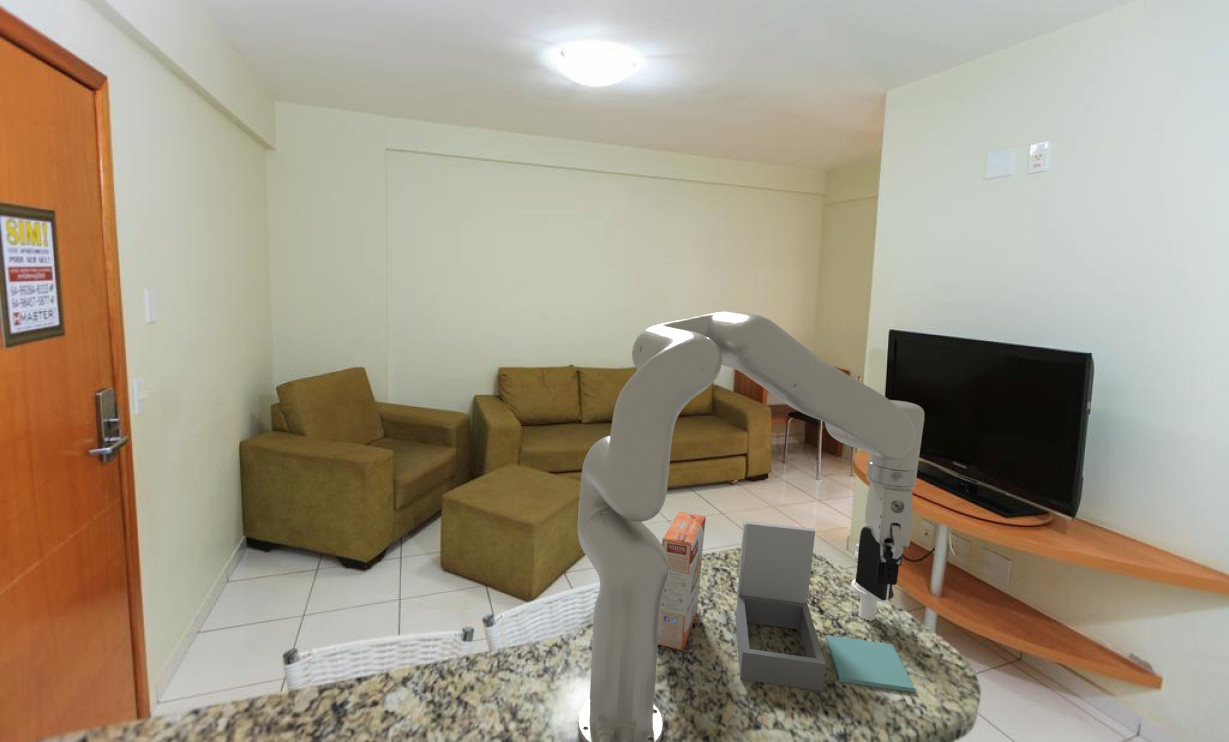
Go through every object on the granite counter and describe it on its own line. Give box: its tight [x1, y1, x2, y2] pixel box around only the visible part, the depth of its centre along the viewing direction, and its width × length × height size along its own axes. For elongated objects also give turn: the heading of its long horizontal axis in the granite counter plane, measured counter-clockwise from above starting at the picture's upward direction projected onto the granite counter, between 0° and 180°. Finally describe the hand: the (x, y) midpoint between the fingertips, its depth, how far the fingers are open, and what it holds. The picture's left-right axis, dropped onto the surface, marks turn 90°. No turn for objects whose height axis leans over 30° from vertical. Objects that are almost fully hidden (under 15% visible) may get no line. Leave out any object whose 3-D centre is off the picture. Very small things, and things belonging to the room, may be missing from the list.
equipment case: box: [735, 520, 827, 692], centre depth 104 cm, size 20×13×20 cm
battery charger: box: [855, 525, 904, 602], centre depth 100 cm, size 7×4×11 cm, turn 20°
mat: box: [825, 634, 916, 694], centre depth 103 cm, size 12×12×1 cm
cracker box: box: [658, 511, 707, 652], centre depth 109 cm, size 14×6×21 cm, turn 161°
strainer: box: [850, 542, 886, 622], centre depth 117 cm, size 7×7×15 cm
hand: (879, 570), depth 100 cm, fingers closed on battery charger, 7 cm apart
